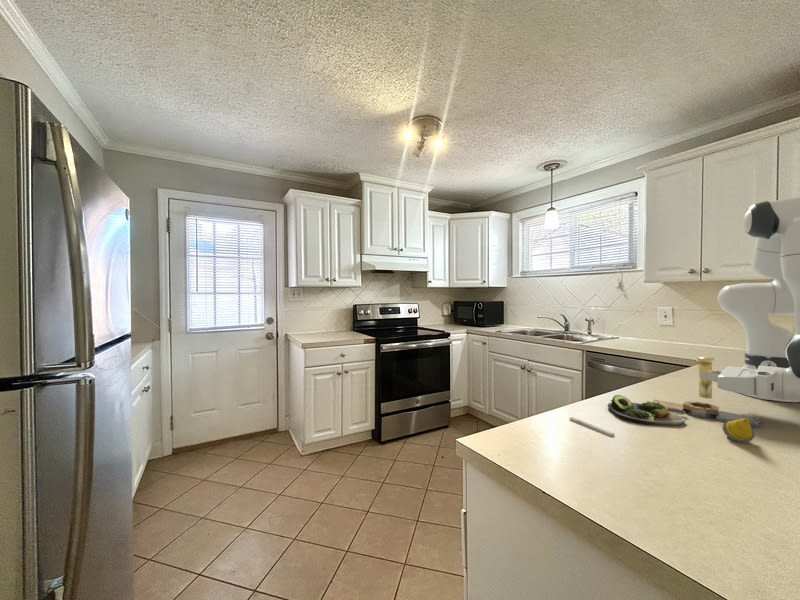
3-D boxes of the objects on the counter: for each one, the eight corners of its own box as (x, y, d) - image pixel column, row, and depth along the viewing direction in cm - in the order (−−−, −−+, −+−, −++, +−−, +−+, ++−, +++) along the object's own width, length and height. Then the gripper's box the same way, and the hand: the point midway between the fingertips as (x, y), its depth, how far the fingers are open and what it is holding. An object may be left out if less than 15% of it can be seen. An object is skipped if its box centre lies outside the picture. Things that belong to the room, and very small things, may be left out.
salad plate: (670, 408, 104) (670, 394, 104) (707, 430, 87) (707, 413, 87) (601, 404, 109) (601, 390, 109) (622, 424, 92) (622, 407, 92)
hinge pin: (698, 394, 107) (697, 356, 107) (715, 397, 104) (715, 357, 104) (695, 397, 104) (695, 357, 104) (713, 399, 101) (712, 359, 101)
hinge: (655, 402, 110) (655, 394, 110) (760, 421, 92) (760, 412, 92) (649, 406, 105) (648, 399, 105) (758, 428, 87) (758, 419, 87)
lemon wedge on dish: (755, 441, 80) (771, 423, 74) (734, 451, 80) (749, 433, 74) (732, 422, 84) (746, 403, 78) (713, 431, 84) (725, 413, 78)
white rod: (614, 437, 83) (614, 433, 83) (611, 438, 83) (611, 434, 83) (572, 420, 95) (572, 417, 95) (569, 421, 95) (569, 417, 95)
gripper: (769, 365, 101) (707, 359, 111) (764, 377, 87) (694, 368, 98) (769, 386, 101) (707, 378, 111) (764, 401, 87) (695, 390, 98)
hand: (701, 373), depth 104 cm, fingers closed on hinge pin, 3 cm apart
